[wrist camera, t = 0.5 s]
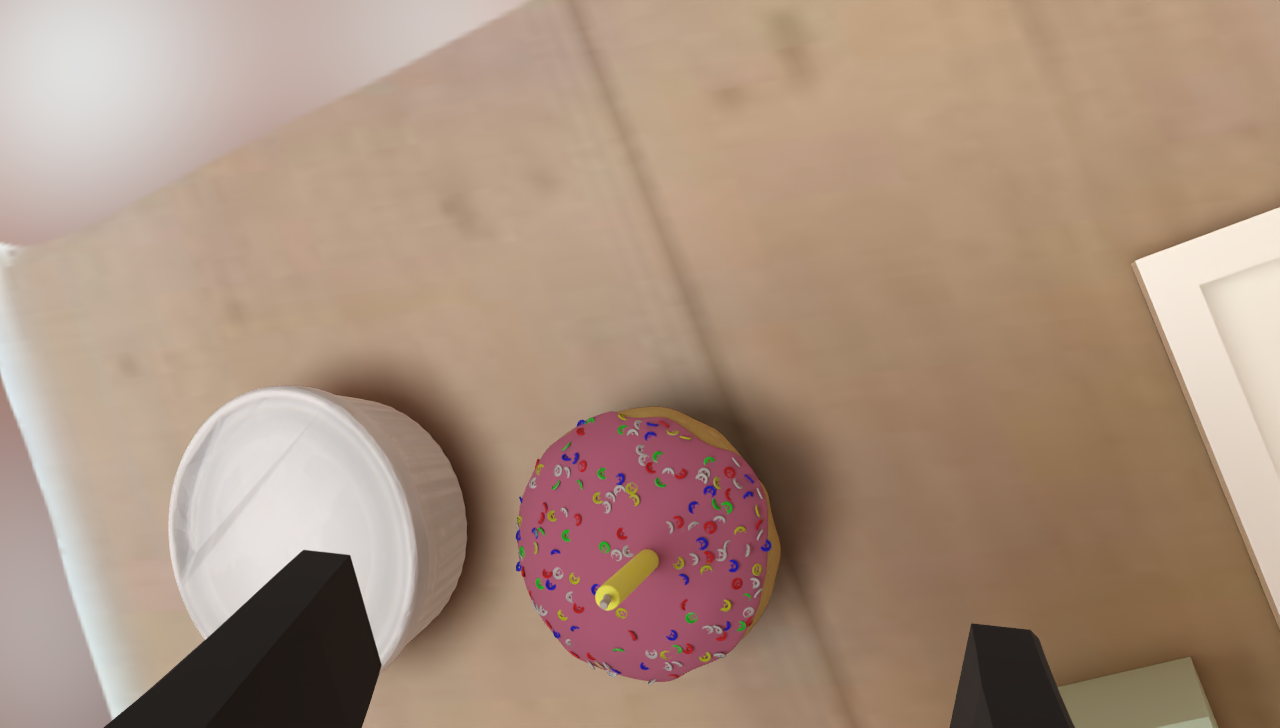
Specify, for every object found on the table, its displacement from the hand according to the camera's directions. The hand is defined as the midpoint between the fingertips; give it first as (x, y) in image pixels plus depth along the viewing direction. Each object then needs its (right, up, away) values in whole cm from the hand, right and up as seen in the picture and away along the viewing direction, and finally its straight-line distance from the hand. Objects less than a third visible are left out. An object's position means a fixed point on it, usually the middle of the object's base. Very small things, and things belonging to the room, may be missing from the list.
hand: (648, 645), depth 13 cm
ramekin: (-11, -3, +31) cm, 32 cm away
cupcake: (+2, -2, +25) cm, 25 cm away
